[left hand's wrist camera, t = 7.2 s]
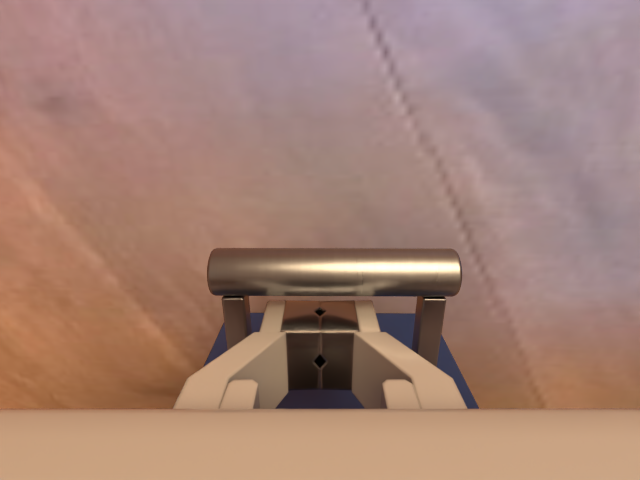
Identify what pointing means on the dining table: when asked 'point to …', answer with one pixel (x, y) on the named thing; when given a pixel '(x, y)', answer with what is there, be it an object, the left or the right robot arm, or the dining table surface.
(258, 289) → the drawer
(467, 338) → the dining table surface
